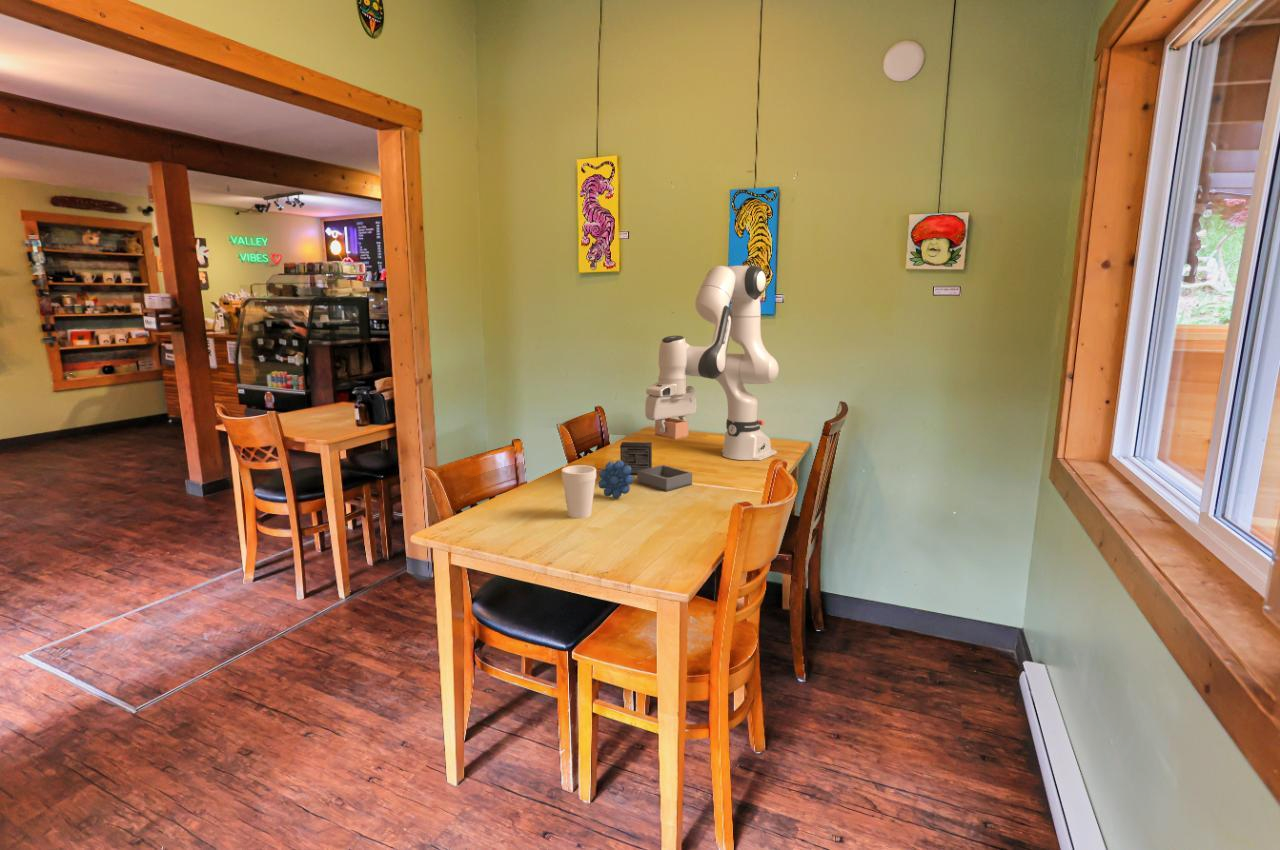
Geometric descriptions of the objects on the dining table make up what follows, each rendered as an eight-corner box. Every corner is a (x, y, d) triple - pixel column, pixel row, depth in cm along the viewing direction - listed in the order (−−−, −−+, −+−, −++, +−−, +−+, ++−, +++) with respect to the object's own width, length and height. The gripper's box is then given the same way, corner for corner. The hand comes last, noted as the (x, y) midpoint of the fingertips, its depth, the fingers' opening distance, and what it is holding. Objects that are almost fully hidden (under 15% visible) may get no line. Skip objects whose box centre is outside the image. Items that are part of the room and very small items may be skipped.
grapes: (639, 496, 195) (639, 458, 192) (629, 503, 189) (629, 463, 186) (605, 492, 199) (605, 454, 197) (595, 498, 193) (594, 459, 191)
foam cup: (569, 522, 172) (568, 475, 170) (557, 512, 180) (556, 467, 178) (602, 516, 177) (601, 471, 174) (588, 507, 185) (588, 463, 182)
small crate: (668, 432, 210) (668, 417, 209) (688, 436, 203) (688, 421, 203) (655, 435, 206) (655, 419, 205) (675, 439, 199) (675, 423, 198)
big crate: (662, 476, 217) (662, 464, 216) (692, 484, 207) (692, 472, 207) (637, 482, 210) (637, 470, 209) (666, 491, 200) (666, 479, 199)
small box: (652, 471, 224) (652, 441, 222) (650, 476, 218) (650, 445, 216) (622, 470, 225) (622, 441, 223) (619, 475, 219) (619, 445, 217)
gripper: (687, 384, 211) (686, 425, 214) (642, 389, 197) (641, 433, 200) (701, 386, 207) (700, 428, 209) (656, 391, 193) (656, 436, 195)
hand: (671, 430), depth 204 cm, fingers closed on small crate, 6 cm apart
